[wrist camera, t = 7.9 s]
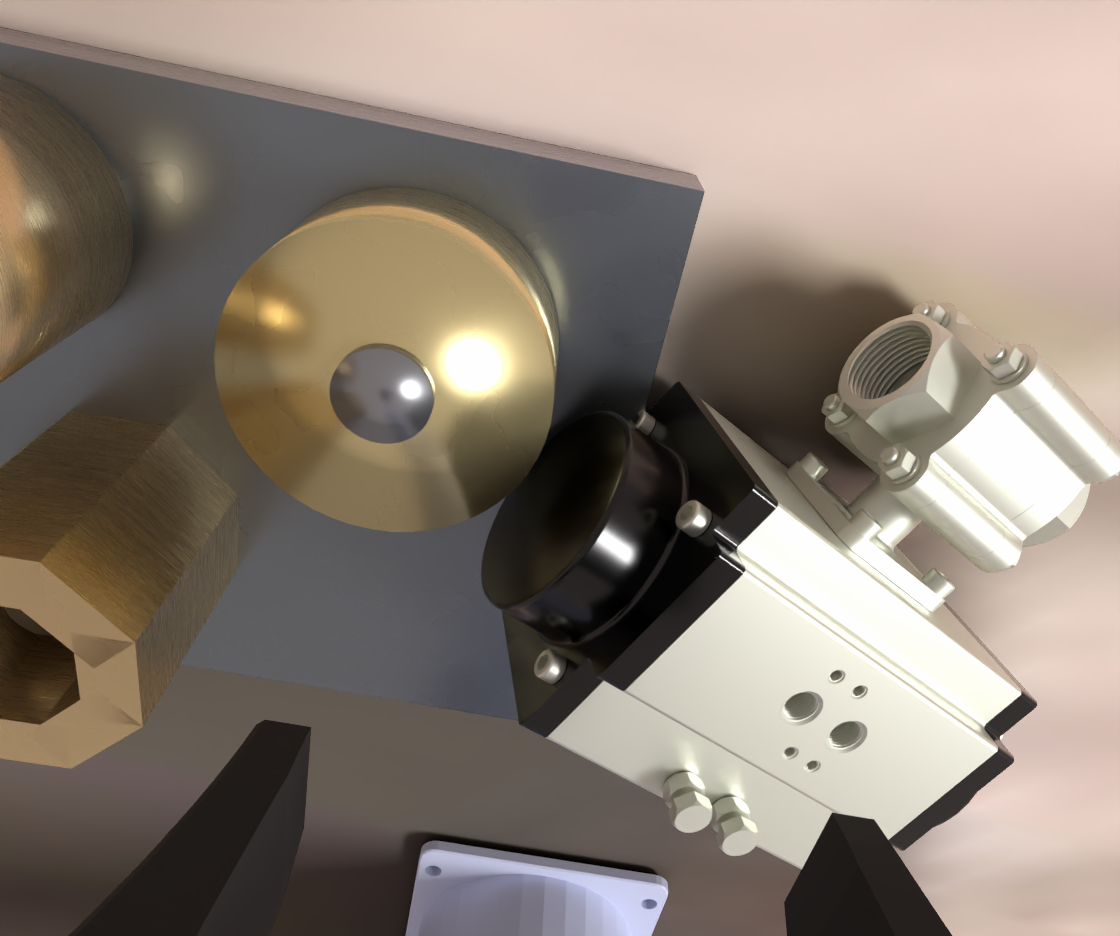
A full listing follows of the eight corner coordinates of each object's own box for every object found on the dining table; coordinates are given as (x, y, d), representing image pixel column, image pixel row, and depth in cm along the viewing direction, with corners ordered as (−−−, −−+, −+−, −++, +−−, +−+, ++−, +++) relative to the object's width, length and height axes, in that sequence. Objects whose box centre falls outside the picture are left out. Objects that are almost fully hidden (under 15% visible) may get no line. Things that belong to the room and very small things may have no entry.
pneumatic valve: (1099, 471, 21) (756, 775, 24) (792, 152, 16) (416, 583, 20) (1304, 607, 16) (842, 964, 19) (953, 210, 11) (419, 771, 15)
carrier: (560, 687, 24) (549, 913, 18) (-30, 586, 23) (-243, 793, 17) (695, 175, 17) (749, 275, 11) (-137, -2, 16) (-555, 7, 10)
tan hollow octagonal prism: (239, 615, 21) (147, 779, 17) (31, 582, 21) (-117, 741, 16) (237, 437, 19) (129, 576, 14) (1, 397, 18) (-182, 527, 14)
